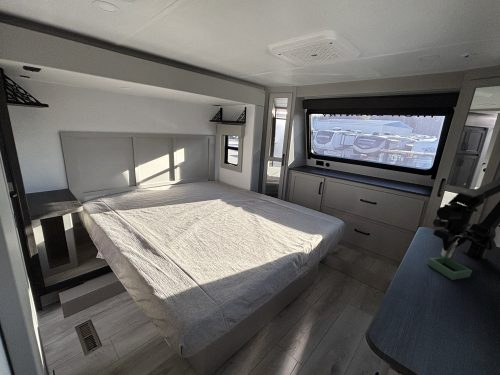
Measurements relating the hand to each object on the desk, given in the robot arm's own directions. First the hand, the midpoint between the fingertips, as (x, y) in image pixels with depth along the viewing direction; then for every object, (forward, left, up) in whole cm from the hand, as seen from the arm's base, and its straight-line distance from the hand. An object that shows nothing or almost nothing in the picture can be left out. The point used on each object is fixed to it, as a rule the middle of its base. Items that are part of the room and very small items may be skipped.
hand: (448, 249), depth 103 cm
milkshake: (0, 0, -4) cm, 4 cm away
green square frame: (+11, +8, -4) cm, 14 cm away
